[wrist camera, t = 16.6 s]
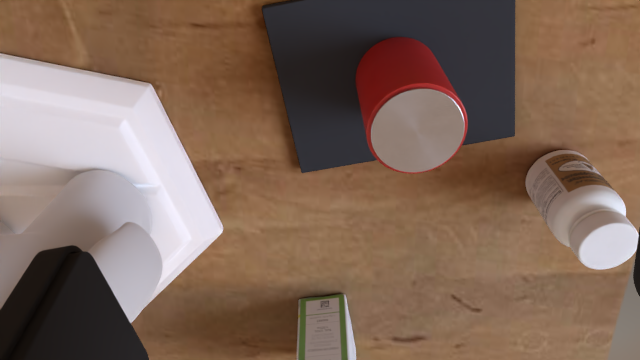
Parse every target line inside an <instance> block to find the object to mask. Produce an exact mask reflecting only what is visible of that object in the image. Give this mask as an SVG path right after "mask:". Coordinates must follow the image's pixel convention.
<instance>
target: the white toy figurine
mask: <svg viewBox="0 0 640 360" xmlns="http://www.w3.org/2000/svg"><path fill="white" fill-rule="evenodd" d="M222 232H223V225H222V223H221V221H220V219H219V217H218V215H217V213H216V211H215V209H214V207H213V205H212V203H211V201H210V199H209V197H208V195H207V193H206V191H205V189H204V187H203V185H202V184H201V182H200V180H199V178H198V176H197V174H196V172H195V170H194V168H193V166H192V164H191V162H190V160H189V158H188V156H187V154H186V152H185V150H184V148H183V146H182V144H181V142H180V140H179V138H178V136H177V134H176V132H175V130H174V128H173V126H172V124H171V122H170V120H169V118H168V116H167V114H166V112H165V110H164V108H163V106H162V104H161V102H160V100H159V98H158V96H157V94H156V92H155V90H154V88H153V87H152V85H151V84H150V83H146V82H141V81H136V80H131V79H126V78H121V77H116V76H111V75H106V74H101V73H96V72H91V71H86V70H81V69H76V68H71V67H66V66H61V65H56V64H51V63H46V62H41V61H36V60H31V59H26V58H21V57H16V56H11V55H6V54H1V53H0V309H1V308H2V306H3V305H4V303H5V302H6V300H7V299H8V297H9V295H10V294H11V292H12V291H13V289H14V288H15V286H16V285H17V283H18V281H19V280H20V278H21V277H22V275H23V274H24V272H25V271H26V269H27V268H28V266H29V264H30V263H31V261H32V260H33V258H34V257H35V256H36V254H37V253H38V252H40V251H43V250H48V249H53V248H59V247H64V246H70V245H74V246H77V247H79V248H80V249H81V250H82V251H86V252H89V253H90V254H91V255H92V256H93V258H94V260H95V261H96V263H97V265H98V267H99V268H100V270H101V272H102V274H103V275H104V277H105V279H106V281H107V283H108V284H109V286H110V288H111V290H112V291H113V293H114V295H115V297H116V298H117V300H118V302H119V304H120V306H121V307H122V309H123V311H124V313H125V314H126V316H127V318H128V320H129V322H130V323H132V322H133V321H134V319H135V318H136V317H137V316H138V315H139V313H140V312H141V311H142V310H143V308H145V307H146V306H147V305H148V304H149V303H150V302H151V301H152V300H153V299H154V298H155V297H156V296H157V295H158V294H159V293H160V292H161V291H162V290H163V289H164V288H165V287H166V286H167V285H168V284H170V283H171V282H172V281H173V280H174V279H175V278H176V277H177V276H178V275H179V274H180V273H181V272H182V271H183V270H184V269H185V268H186V267H187V266H188V265H189V264H190V263H191V262H192V261H193V260H194V259H196V258H197V257H198V256H199V255H200V254H201V253H202V252H203V251H204V250H205V249H206V248H207V247H208V246H209V245H210V244H211V243H212V242H213V241H214V240H215V239H216V238H217V237H218V236H219V235H220V234H221V233H222Z"/></svg>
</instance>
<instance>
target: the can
mask: <svg viewBox="0 0 640 360" xmlns="http://www.w3.org/2000/svg"><path fill="white" fill-rule="evenodd" d="M356 88H357V93H358V98H359V103H360V108H361V113H362V118H363V123H364V128H365V133H366V138H367V143H368V146H369V148H370V151H371V152H372V154H373V155H374V157H375V158H376V159H377V160H378V161H379V162H380V163H381V164H383V165H384V166H386V167H388V168H390V169H392V170H394V171H397V172H402V173H422V172H427V171H430V170H433V169H435V168H437V167H440V166H441V165H443V164H444V163H446V162H447V161H448V160H450V159H451V158H452V157H453V156H454V155H455V154H456V153H457V151H458V150H459V149H460V147H461V145H462V144H463V141H464V139H465V136H466V133H467V127H468V120H467V114H466V110H465V108H464V106H463V104H462V102H461V100H460V99H459V97H458V95H457V93H456V92H455V90H454V88H453V87H452V85H451V83H450V81H449V80H448V78H447V76H446V75H445V73H444V71H443V69H442V68H441V66H440V64H439V63H438V61H437V59H436V58H435V56H434V54H433V53H432V51H431V50H430V49H429V48H428V47H427V46H426V45H424V44H423V43H421V42H420V41H417V40H415V39H412V38H407V37H394V38H389V39H386V40H383V41H381V42H379V43H377V44H376V45H374V46H373V47H371V48H370V49H369V50H368V51H367V52H366V54H365V55H364V56H363V58H362V59H361V61H360V63H359V65H358V68H357V71H356Z"/></svg>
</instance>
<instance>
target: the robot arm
mask: <svg viewBox="0 0 640 360" xmlns="http://www.w3.org/2000/svg"><path fill="white" fill-rule="evenodd" d="M633 276H634V277H633V278H634V284H635V287H636V290H637V292H638V294H639V296H640V229H639V237H638V244H637V252H636V259H635V266H634V275H633ZM0 360H149V358H148V354H147V352H146V350H145V348H144V346H143V345H142V343H141V341H140V339H139V337H138V336H137V334H136V332H135V330H134V329H133V327H132V325H131V323H130V322H129V320H128V318H127V316H126V314H125V313H124V311H123V309H122V307H121V306H120V304H119V302H118V300H117V298H116V297H115V295H114V293H113V291H112V290H111V288H110V286H109V284H108V283H107V281H106V279H105V277H104V275H103V274H102V272H101V270H100V268H99V267H98V265H97V263H96V261H95V260H94V258H93V256H92V255H91V254H90V253H89V252H86V251H82V250H81V249H80V248H79V247H77V246H74V245H70V246H64V247H59V248H53V249H48V250H43V251H40V252H38V253H37V254H36V256H35V257H34V258H33V260H32V261H31V263H30V264H29V266H28V268H27V269H26V271H25V272H24V274H23V275H22V277H21V278H20V280H19V281H18V283H17V285H16V286H15V288H14V289H13V291H12V292H11V294H10V295H9V297H8V299H7V300H6V302H5V303H4V305H3V306H2V308H1V309H0Z"/></svg>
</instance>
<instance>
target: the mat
mask: <svg viewBox="0 0 640 360" xmlns="http://www.w3.org/2000/svg"><path fill="white" fill-rule="evenodd" d="M262 12H263V16H264V20H265V24H266V28H267V32H268V36H269V41H270V45H271V49H272V53H273V57H274V61H275V65H276V69H277V73H278V77H279V82H280V86H281V90H282V94H283V98H284V102H285V106H286V110H287V114H288V119H289V123H290V127H291V131H292V135H293V139H294V143H295V147H296V151H297V156H298V160H299V164H300V168H301V172H302V173H305V172H311V171H317V170H322V169H328V168H334V167H340V166H345V165H351V164H357V163H363V162H369V161H374V160H377V159H376V158H375V157H374V155H373V154H372V152H371V151H370V148H369V146H368V143H367V138H366V133H365V128H364V123H363V118H362V113H361V108H360V103H359V98H358V93H357V88H356V71H357V68H358V65H359V63H360V61H361V59H362V58H363V56H364V55H365V54H366V52H367V51H368V50H369V49H370V48H371V47H373V46H374V45H376V44H377V43H379V42H381V41H383V40H386V39H389V38H394V37H407V38H412V39H415V40H417V41H420V42H421V43H423V44H424V45H426V46H427V47H428V48H429V49H430V50H431V51H432V53H433V54H434V56H435V58H436V59H437V61H438V63H439V64H440V66H441V68H442V69H443V71H444V73H445V75H446V76H447V78H448V80H449V81H450V83H451V85H452V87H453V88H454V90H455V92H456V93H457V95H458V97H459V99H460V100H461V102H462V104H463V106H464V108H465V110H466V114H467V120H468V127H467V133H466V136H465V139H464V141H463V144H462V145H467V144H473V143H478V142H484V141H490V140H496V139H501V138H507V137H513V136H515V0H290V1H285V2H280V3H275V4H270V5H265V6H263V7H262Z"/></svg>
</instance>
